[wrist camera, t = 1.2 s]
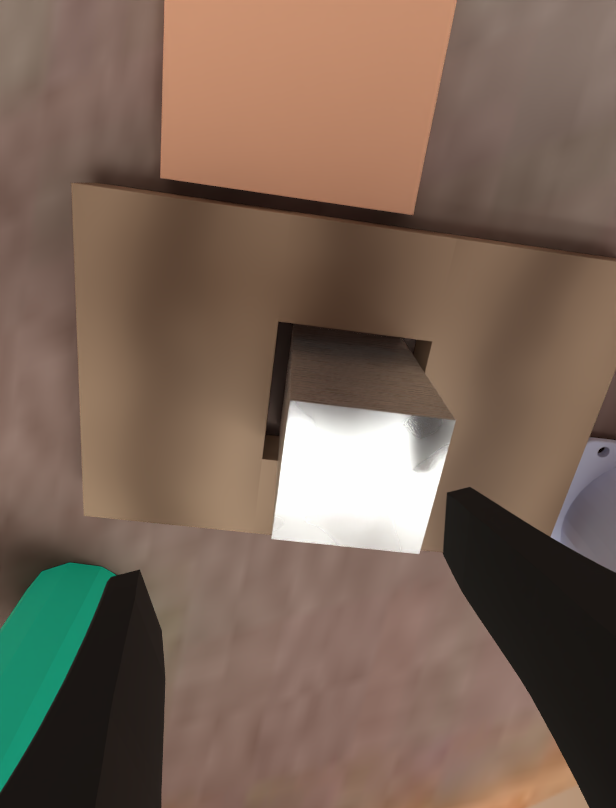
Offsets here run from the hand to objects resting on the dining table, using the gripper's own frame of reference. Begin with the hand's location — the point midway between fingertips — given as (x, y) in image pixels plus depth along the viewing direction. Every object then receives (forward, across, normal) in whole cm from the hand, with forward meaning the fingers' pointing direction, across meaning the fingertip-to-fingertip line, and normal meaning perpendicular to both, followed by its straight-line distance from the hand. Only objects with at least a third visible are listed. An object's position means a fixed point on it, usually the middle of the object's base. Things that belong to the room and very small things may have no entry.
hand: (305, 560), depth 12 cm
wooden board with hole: (+10, -4, +1) cm, 11 cm away
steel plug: (+10, -4, +1) cm, 11 cm away
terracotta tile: (+12, -4, -10) cm, 16 cm away
